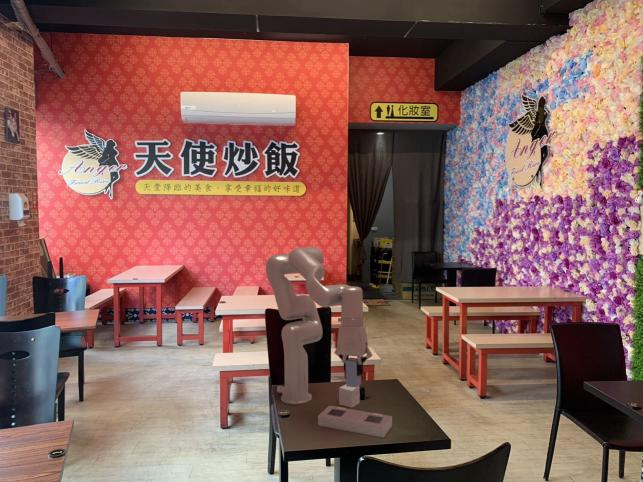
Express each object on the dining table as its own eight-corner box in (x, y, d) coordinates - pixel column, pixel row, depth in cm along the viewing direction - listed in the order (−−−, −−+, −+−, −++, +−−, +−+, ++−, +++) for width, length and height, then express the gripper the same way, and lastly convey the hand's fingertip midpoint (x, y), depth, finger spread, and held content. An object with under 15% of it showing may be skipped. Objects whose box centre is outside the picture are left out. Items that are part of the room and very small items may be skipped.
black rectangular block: (342, 396, 196) (342, 385, 196) (353, 391, 202) (353, 380, 202) (365, 403, 188) (365, 392, 188) (376, 398, 193) (376, 387, 193)
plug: (346, 386, 163) (345, 359, 163) (350, 382, 167) (349, 356, 167) (356, 387, 162) (356, 360, 161) (361, 383, 165) (360, 357, 165)
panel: (318, 426, 165) (317, 415, 165) (329, 416, 175) (329, 405, 174) (383, 439, 155) (383, 427, 155) (392, 427, 165) (392, 415, 164)
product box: (347, 401, 189) (347, 383, 189) (360, 404, 186) (360, 386, 186) (338, 405, 184) (338, 387, 184) (351, 409, 181) (351, 390, 181)
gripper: (326, 322, 164) (327, 374, 164) (371, 325, 157) (372, 380, 157) (334, 318, 171) (336, 368, 171) (378, 321, 164) (379, 373, 164)
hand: (353, 373), depth 164 cm, fingers closed on plug, 4 cm apart
